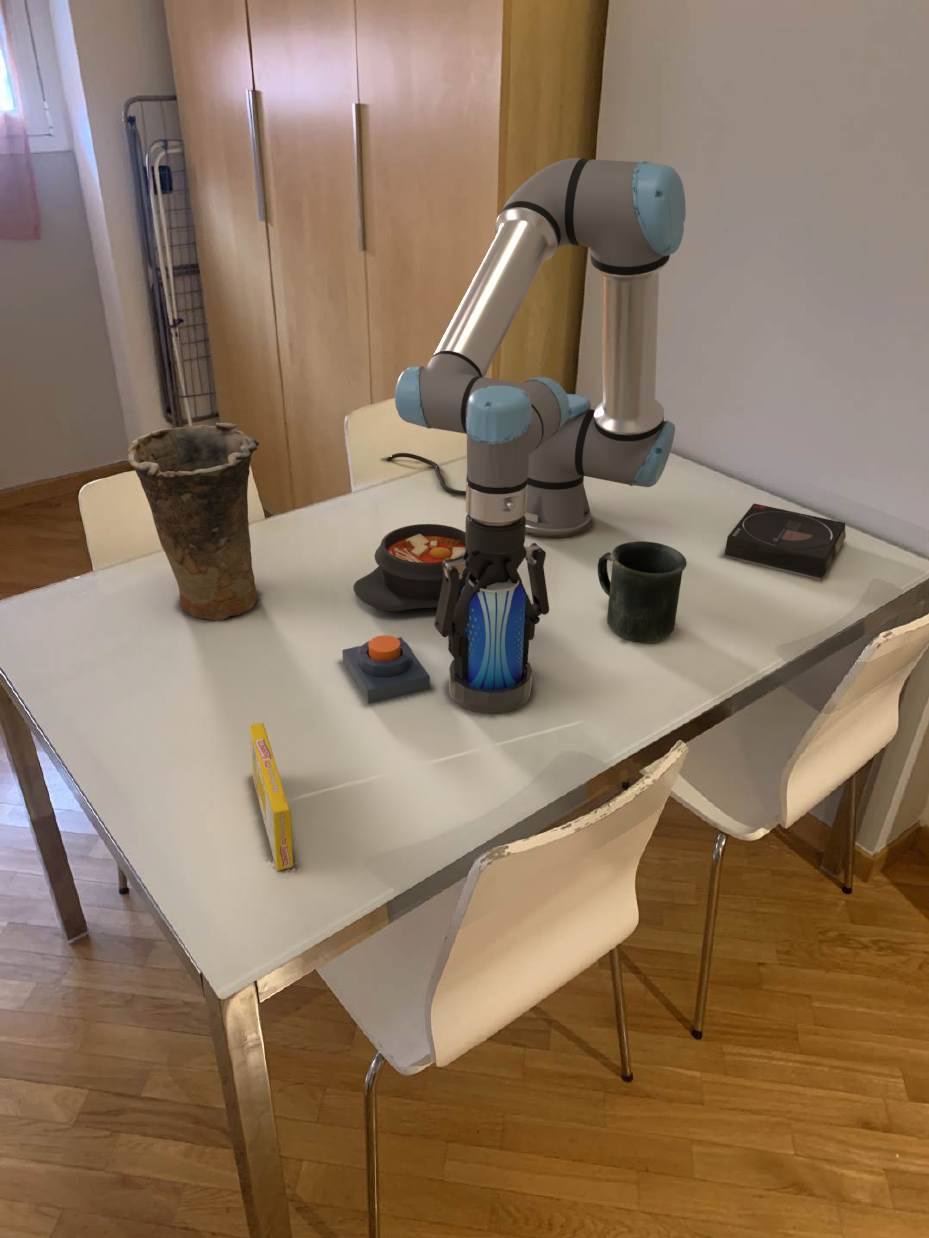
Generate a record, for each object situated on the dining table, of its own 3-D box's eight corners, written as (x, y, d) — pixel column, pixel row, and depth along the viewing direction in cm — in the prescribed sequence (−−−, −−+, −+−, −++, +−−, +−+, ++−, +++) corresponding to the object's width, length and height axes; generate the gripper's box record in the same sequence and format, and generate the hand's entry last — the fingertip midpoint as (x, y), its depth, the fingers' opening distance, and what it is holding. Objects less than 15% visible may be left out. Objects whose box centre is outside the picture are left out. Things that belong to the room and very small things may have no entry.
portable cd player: (824, 580, 163) (828, 559, 161) (724, 556, 171) (727, 536, 169) (844, 543, 176) (848, 523, 174) (750, 523, 183) (753, 503, 181)
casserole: (393, 636, 146) (391, 587, 142) (332, 587, 159) (329, 541, 155) (523, 591, 159) (525, 544, 155) (457, 548, 172) (458, 505, 168)
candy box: (296, 867, 105) (290, 809, 101) (276, 872, 104) (270, 813, 100) (270, 775, 118) (264, 720, 114) (252, 779, 118) (245, 724, 113)
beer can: (457, 665, 137) (458, 564, 129) (517, 663, 138) (521, 562, 129) (462, 700, 130) (464, 595, 122) (525, 697, 130) (530, 593, 122)
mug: (646, 654, 143) (655, 582, 137) (572, 616, 152) (578, 547, 146) (691, 629, 149) (702, 559, 143) (618, 594, 158) (625, 527, 152)
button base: (342, 662, 140) (341, 638, 138) (401, 649, 143) (401, 626, 141) (368, 703, 131) (367, 679, 129) (430, 689, 134) (429, 664, 132)
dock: (436, 678, 137) (436, 657, 135) (508, 661, 141) (509, 640, 139) (469, 722, 128) (470, 700, 126) (544, 703, 132) (546, 681, 130)
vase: (288, 612, 152) (272, 449, 138) (171, 642, 144) (142, 472, 130) (250, 565, 165) (233, 412, 151) (141, 590, 157) (112, 431, 144)
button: (364, 649, 136) (364, 638, 135) (394, 643, 138) (393, 632, 137) (375, 665, 133) (374, 654, 132) (405, 658, 134) (405, 647, 134)
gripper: (428, 541, 114) (429, 699, 126) (585, 512, 122) (572, 664, 133) (405, 516, 120) (408, 669, 132) (556, 490, 128) (546, 637, 139)
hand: (491, 666), depth 133 cm, fingers closed on beer can, 8 cm apart
